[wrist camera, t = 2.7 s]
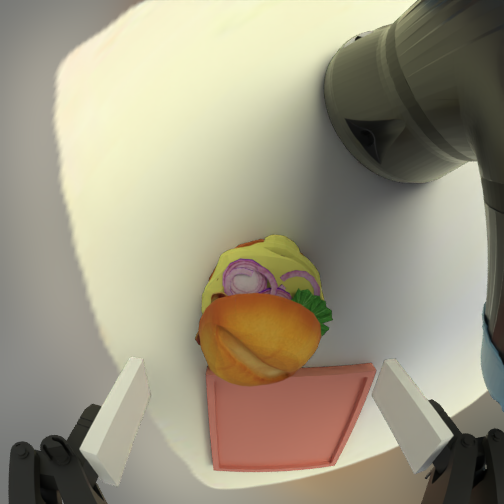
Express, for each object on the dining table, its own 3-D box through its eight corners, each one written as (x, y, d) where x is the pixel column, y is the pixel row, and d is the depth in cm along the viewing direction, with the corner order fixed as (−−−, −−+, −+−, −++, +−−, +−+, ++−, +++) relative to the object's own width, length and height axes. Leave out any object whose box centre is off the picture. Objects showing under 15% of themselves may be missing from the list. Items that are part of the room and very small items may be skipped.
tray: (207, 365, 26) (205, 374, 25) (371, 362, 27) (376, 370, 25) (214, 462, 31) (213, 470, 29) (332, 458, 31) (334, 465, 30)
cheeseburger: (338, 249, 23) (374, 325, 15) (291, 333, 28) (298, 414, 19) (227, 212, 22) (203, 278, 13) (198, 308, 27) (175, 387, 18)
